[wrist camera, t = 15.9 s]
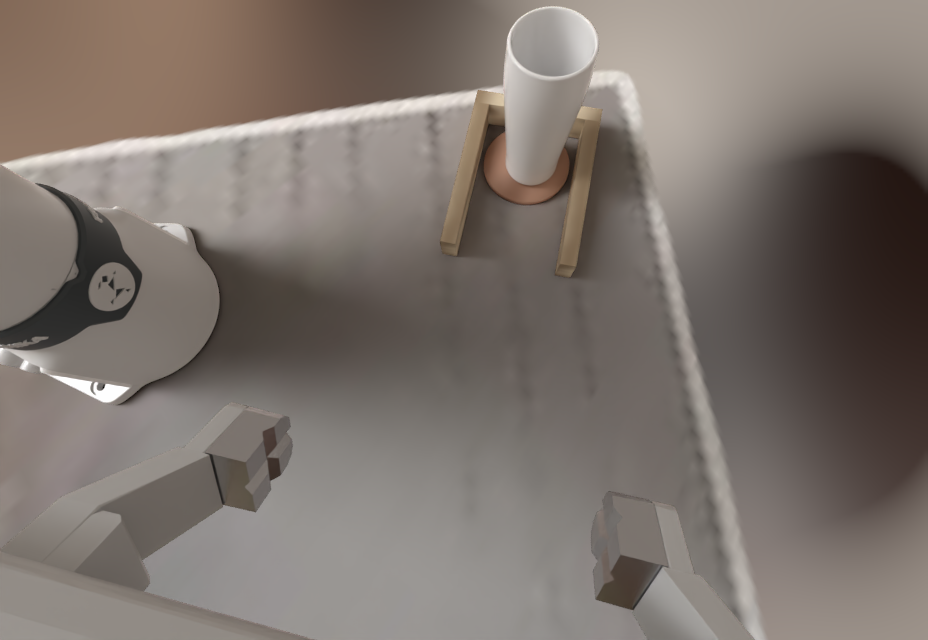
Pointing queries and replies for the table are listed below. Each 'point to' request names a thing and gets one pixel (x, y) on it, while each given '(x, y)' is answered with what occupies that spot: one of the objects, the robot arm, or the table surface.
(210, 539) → the table surface
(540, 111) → the white cup
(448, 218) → the guide channel
